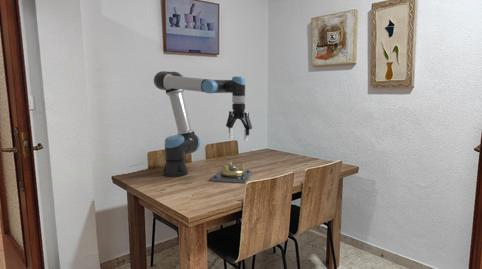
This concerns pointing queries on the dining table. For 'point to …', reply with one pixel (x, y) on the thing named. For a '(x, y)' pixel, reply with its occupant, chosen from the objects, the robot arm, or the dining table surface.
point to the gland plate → (239, 179)
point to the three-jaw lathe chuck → (232, 170)
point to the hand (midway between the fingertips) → (238, 139)
